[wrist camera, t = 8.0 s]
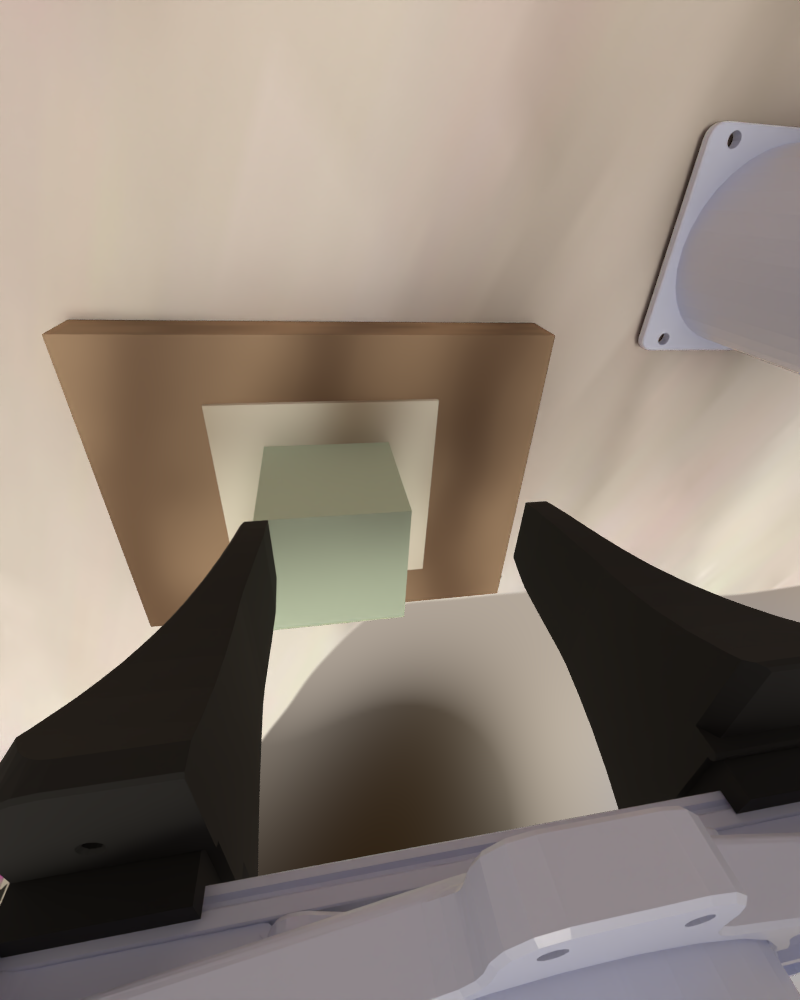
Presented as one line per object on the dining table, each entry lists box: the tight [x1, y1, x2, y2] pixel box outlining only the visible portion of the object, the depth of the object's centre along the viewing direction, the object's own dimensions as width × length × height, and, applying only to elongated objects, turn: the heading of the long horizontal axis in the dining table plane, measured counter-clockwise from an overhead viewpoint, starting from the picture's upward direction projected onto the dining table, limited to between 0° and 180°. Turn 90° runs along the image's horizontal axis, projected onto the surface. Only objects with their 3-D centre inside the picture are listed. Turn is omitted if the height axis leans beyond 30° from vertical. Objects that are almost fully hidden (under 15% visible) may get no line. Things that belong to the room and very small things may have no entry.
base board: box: [42, 320, 555, 627], centre depth 21 cm, size 18×14×2 cm
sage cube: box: [253, 442, 412, 630], centre depth 18 cm, size 5×5×5 cm
